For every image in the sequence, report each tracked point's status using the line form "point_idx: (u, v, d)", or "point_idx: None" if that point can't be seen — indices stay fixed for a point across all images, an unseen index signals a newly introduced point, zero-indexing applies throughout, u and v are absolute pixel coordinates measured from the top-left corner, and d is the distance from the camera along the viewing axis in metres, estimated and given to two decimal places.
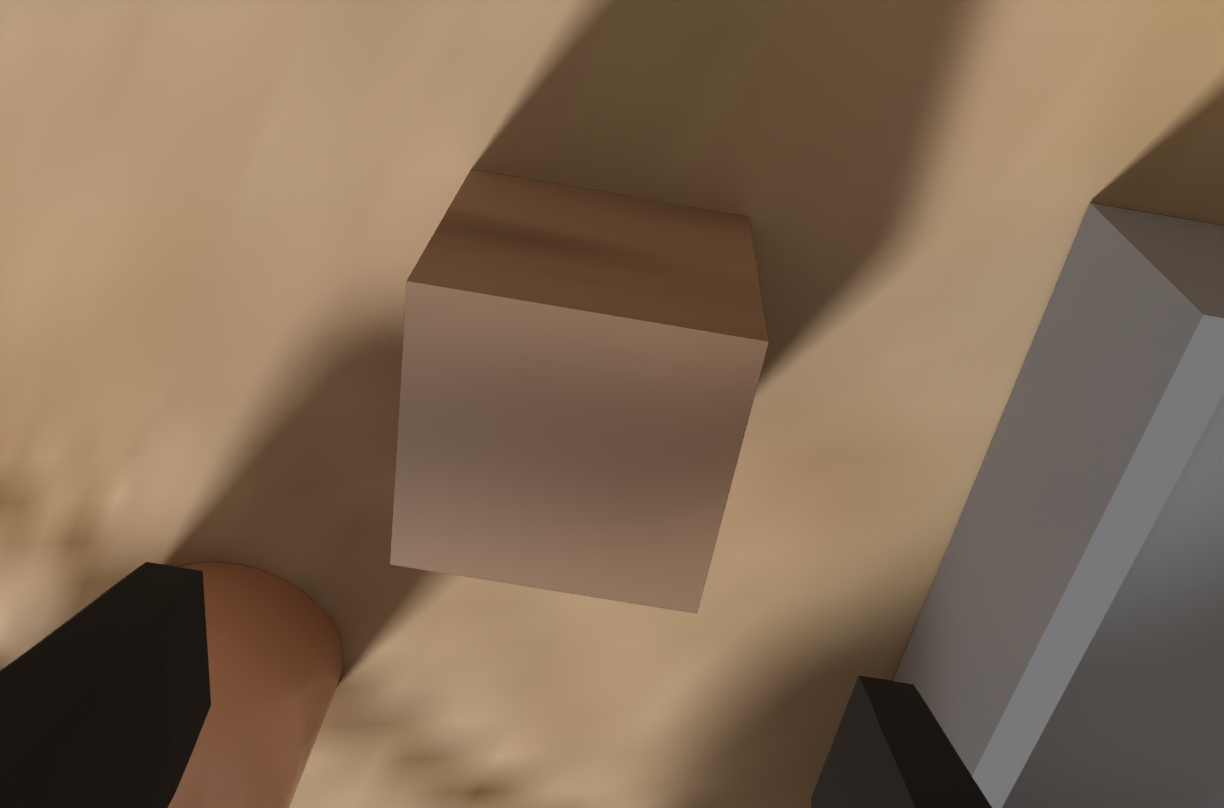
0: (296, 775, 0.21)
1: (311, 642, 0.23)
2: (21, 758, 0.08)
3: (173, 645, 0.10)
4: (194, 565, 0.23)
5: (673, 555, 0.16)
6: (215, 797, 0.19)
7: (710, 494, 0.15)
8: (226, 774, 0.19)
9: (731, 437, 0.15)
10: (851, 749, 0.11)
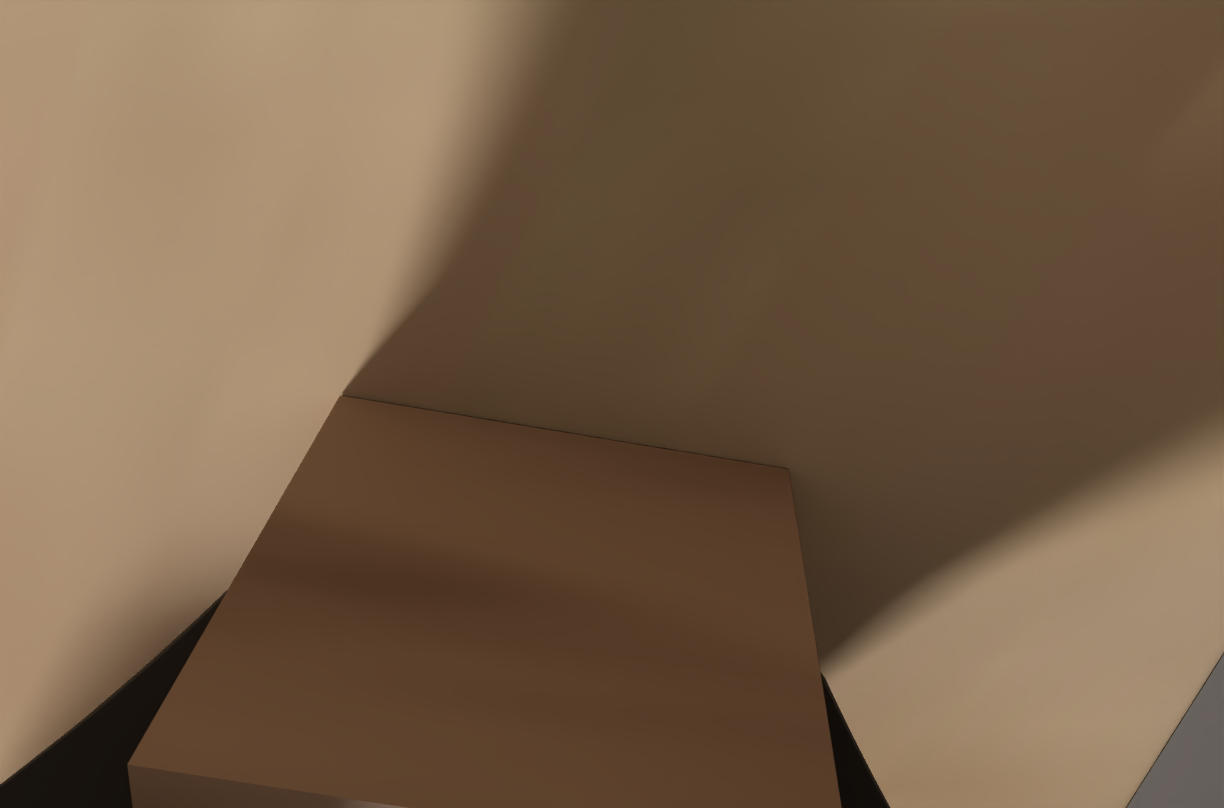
0: None
1: None
2: None
3: None
4: None
5: None
6: None
7: None
8: None
9: None
10: None
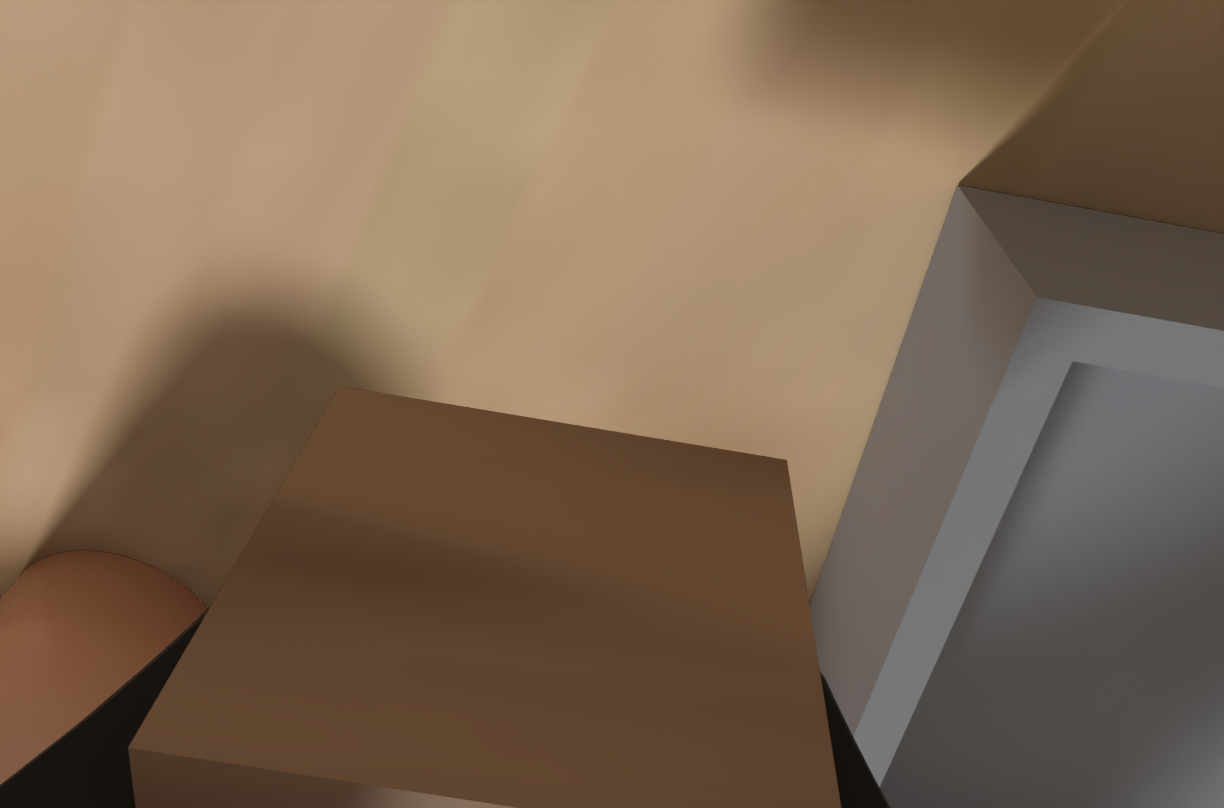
0: None
1: None
2: None
3: None
4: (66, 554, 0.22)
5: None
6: None
7: None
8: None
9: None
10: None
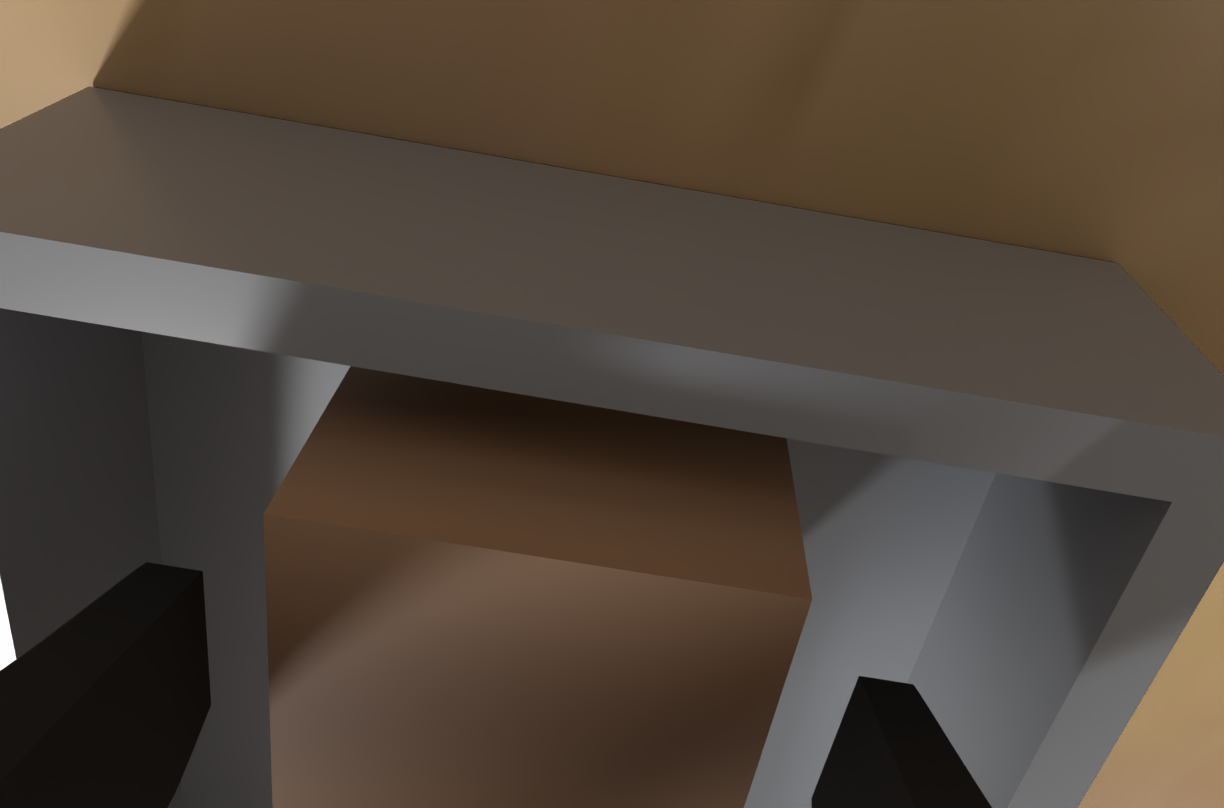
0: None
1: None
2: (21, 758, 0.08)
3: (173, 645, 0.10)
4: None
5: None
6: None
7: (724, 788, 0.11)
8: None
9: (755, 719, 0.10)
10: (851, 748, 0.11)
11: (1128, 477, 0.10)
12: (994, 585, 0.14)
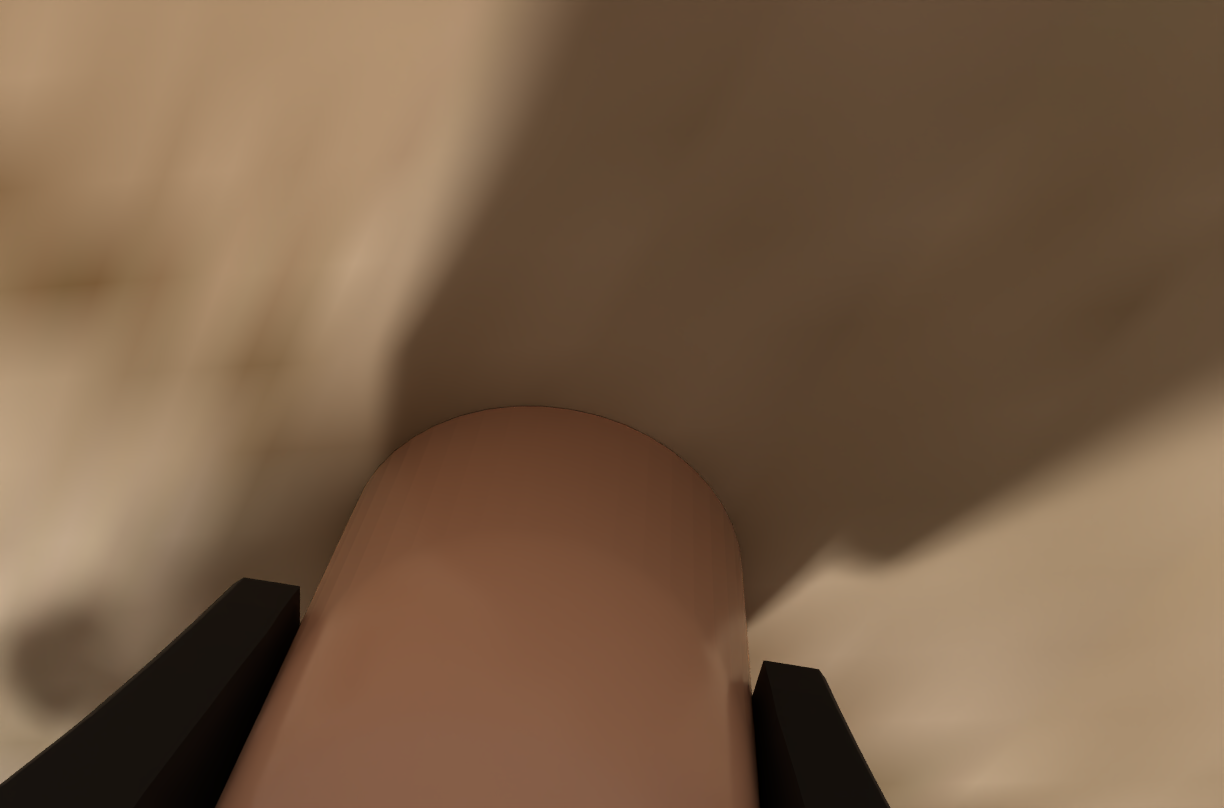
0: None
1: (727, 563, 0.12)
2: (153, 778, 0.08)
3: (275, 661, 0.10)
4: (489, 413, 0.12)
5: None
6: None
7: None
8: None
9: None
10: None
11: None
12: None
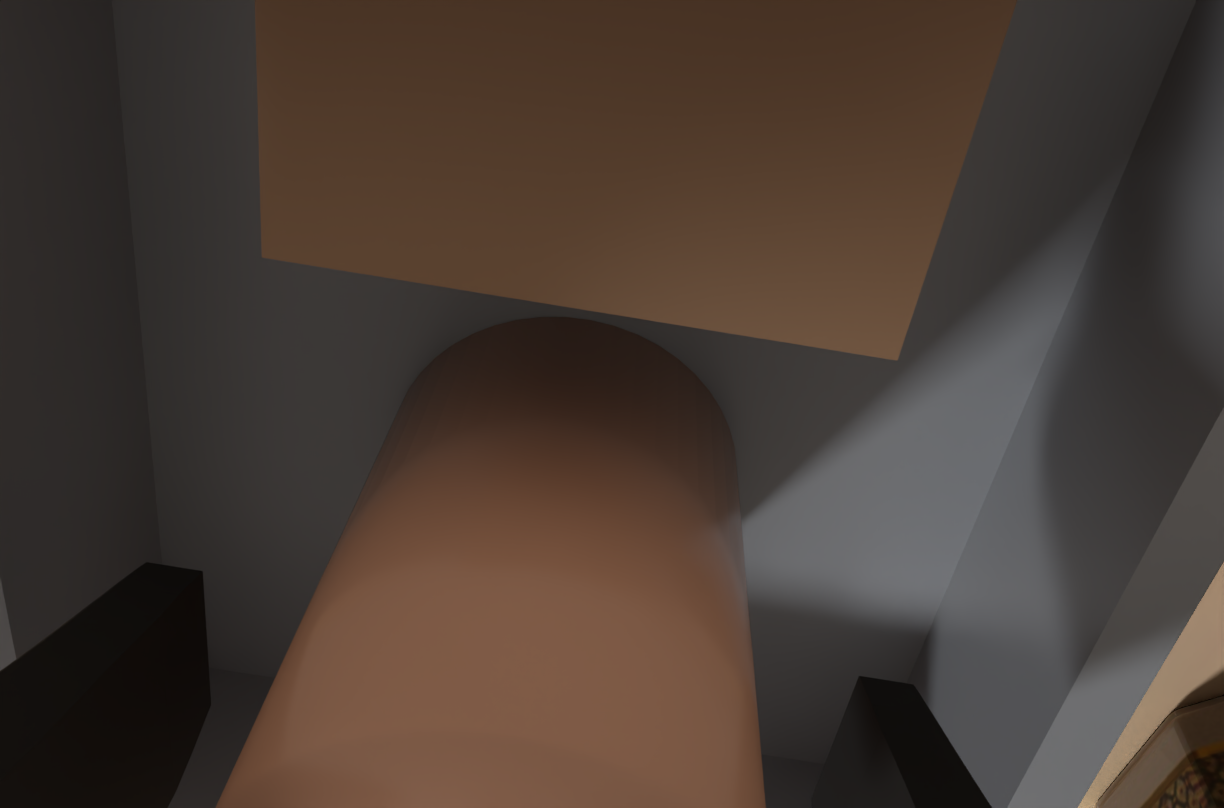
0: None
1: (724, 453, 0.13)
2: (21, 758, 0.08)
3: (173, 645, 0.10)
4: (520, 321, 0.14)
5: (861, 216, 0.07)
6: (717, 684, 0.09)
7: (961, 47, 0.07)
8: (715, 644, 0.10)
9: None
10: (851, 749, 0.11)
11: None
12: None
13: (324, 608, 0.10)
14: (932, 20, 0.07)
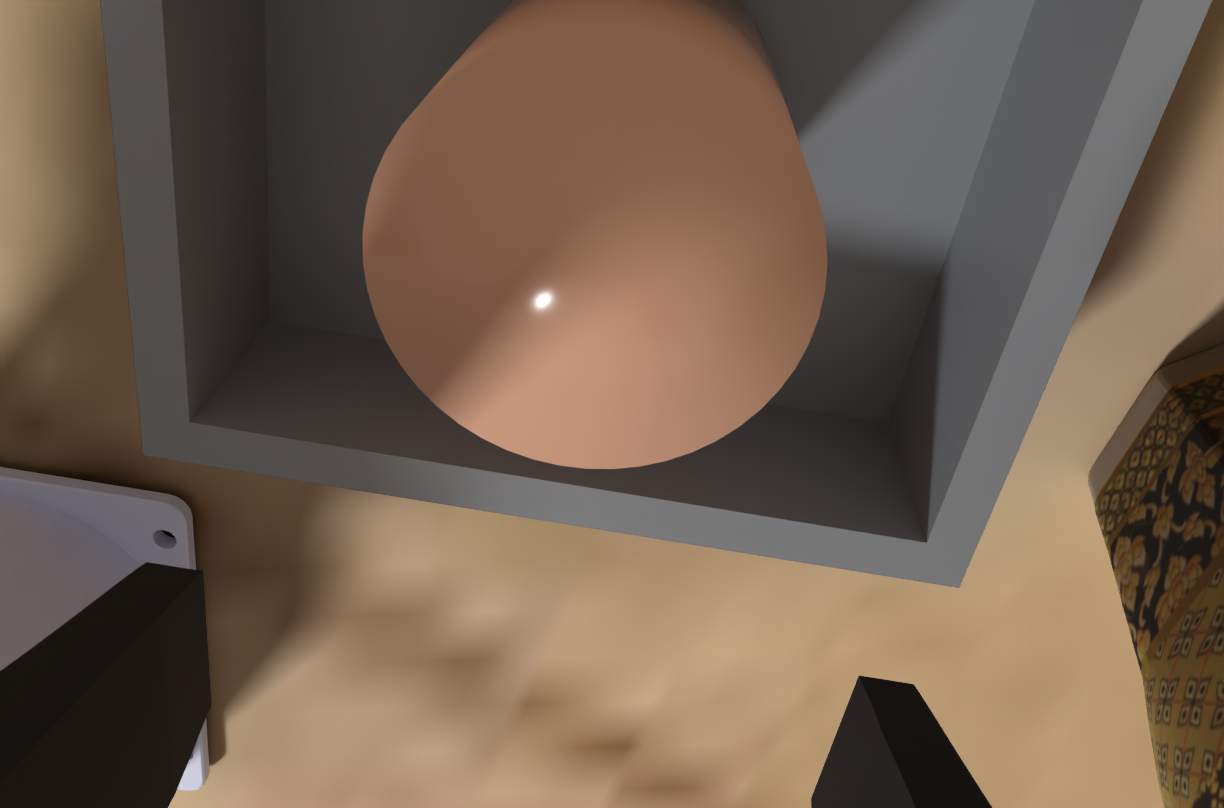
0: None
1: None
2: (21, 758, 0.08)
3: (173, 645, 0.10)
4: None
5: None
6: (778, 101, 0.12)
7: None
8: (773, 90, 0.12)
9: None
10: (851, 749, 0.11)
11: None
12: None
13: (456, 61, 0.12)
14: None
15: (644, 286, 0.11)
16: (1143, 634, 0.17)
